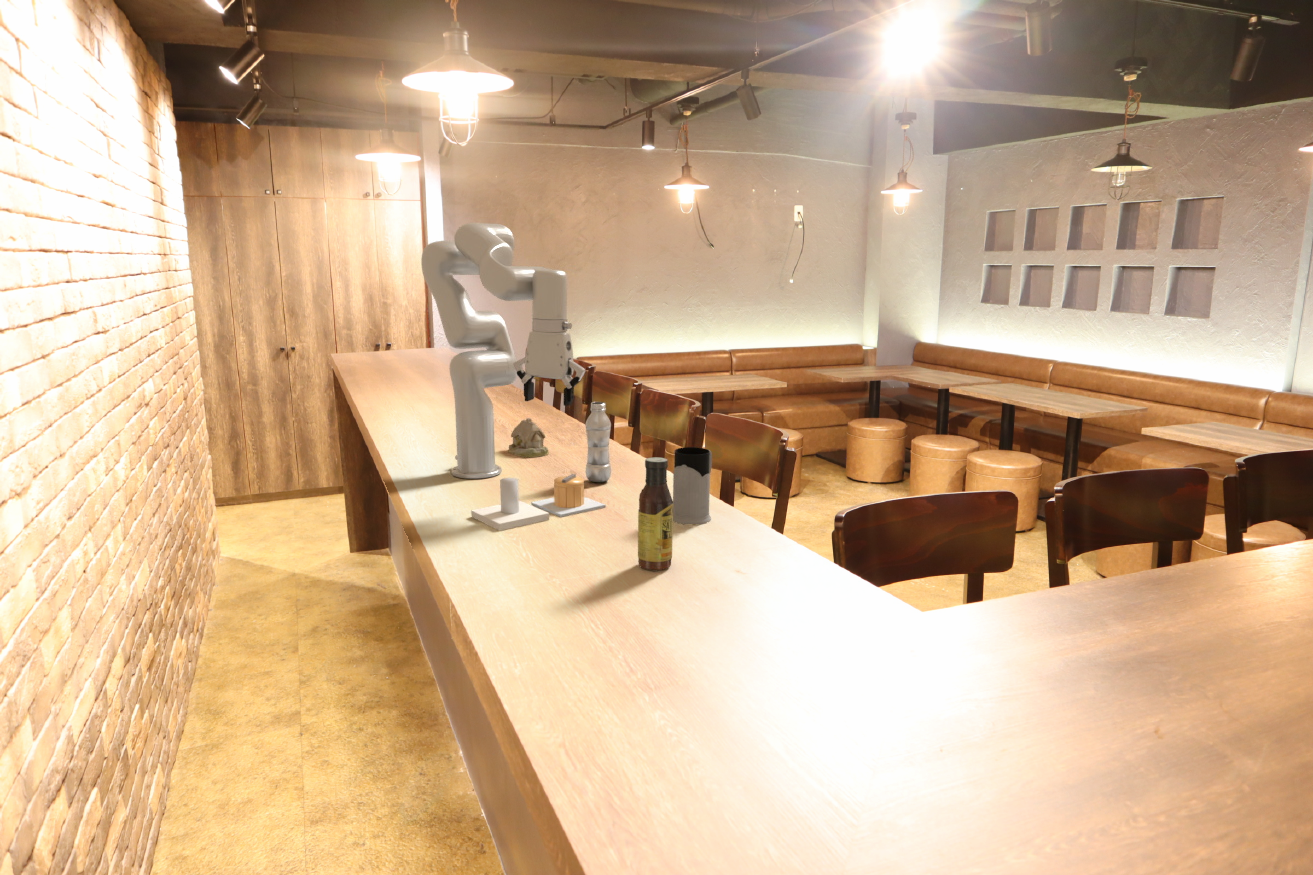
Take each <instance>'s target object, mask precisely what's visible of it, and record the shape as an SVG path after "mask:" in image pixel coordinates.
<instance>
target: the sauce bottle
mask: <svg viewBox="0 0 1313 875" xmlns="http://www.w3.org/2000/svg"><path fill="white" fill-rule="evenodd" d="M644 467H645V485H644V487H643V488H642V489H641V491H640V493H639V498H638V501H639V502H638V510H637V512H638V513H637V514H638V515H637V516H638V517H637V518H638V519H637V522H638V523H637V526H638V527H637V557H638V561H637V562H638V563H637V564H638V566H639V567H640V568H641V569H644V570H646V571H654V572H655V571H656V572H657V571H664V570H666V569H669V568H670V567H671V566H672V558H673V535H674V534H673V533H674V532H673V527H674V521H673V497H672V495H671V492H670V488H669V486H668V478H667V477H668V476H667V474H668V472H667V470H668V467H669V464H668V459H667V458H665V457H658V456H657V457H656V456H655V457H648V458H646V459H645V460H644Z"/></svg>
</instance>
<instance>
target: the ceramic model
mask: <svg viewBox="0 0 1313 875" xmlns="http://www.w3.org/2000/svg"><path fill="white" fill-rule="evenodd" d="M510 437H511V438H512V443H511V444H509V445H508V453H509V454H511V455H515V456H519V457H523V458H532V459H533V458H537V457H544V456H547V455H549V452H550V451H549V449H548V447H547V446H545V445H544V439H546V435H545V432H544V431H543V429H542V428H540V427H539V426H538V425H537V423H535V422H534V421H533V420H532V418H530V417H527V418H526V419H522V420H521V421H520V423H518V424H517V425H516V426H515V427H514V428H513V430H512V431H511V434H510Z"/></svg>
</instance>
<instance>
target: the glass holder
mask: <svg viewBox="0 0 1313 875" xmlns="http://www.w3.org/2000/svg"><path fill="white" fill-rule="evenodd" d="M673 465H674V466H673V468H674V470H673V475H672V476H673V478H672V480H673V482H672V483H673V485H672V488H673V489H672V491H673V492H672V500H673V523H676V522H677V524H680V525H685V524H699V525H704V524H708V523H709V522H711V521H712V518H711V515H710V497H711V496H710V491H711V490H710V489H711V488H710V487H711V472H712V465H713V454H712V451H711V450H710V449H707V448H704V447H697V446H696V447H695V446H689V447H688V446H685V447H679V448H676V449H675V450H674V464H673ZM707 522H708V523H707Z"/></svg>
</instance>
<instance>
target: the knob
mask: <svg viewBox="0 0 1313 875" xmlns="http://www.w3.org/2000/svg"><path fill="white" fill-rule="evenodd" d="M584 480H585V479H584V478H583V477H580V476H577V474H576V473H571V474H569V475H567V476H559V477H556V478H554V479H553V498H554V504H555V506H558V507H563V508H566V507H567V508H574V507H579V506H582V505H583V504H584V497H585V483H584Z"/></svg>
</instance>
